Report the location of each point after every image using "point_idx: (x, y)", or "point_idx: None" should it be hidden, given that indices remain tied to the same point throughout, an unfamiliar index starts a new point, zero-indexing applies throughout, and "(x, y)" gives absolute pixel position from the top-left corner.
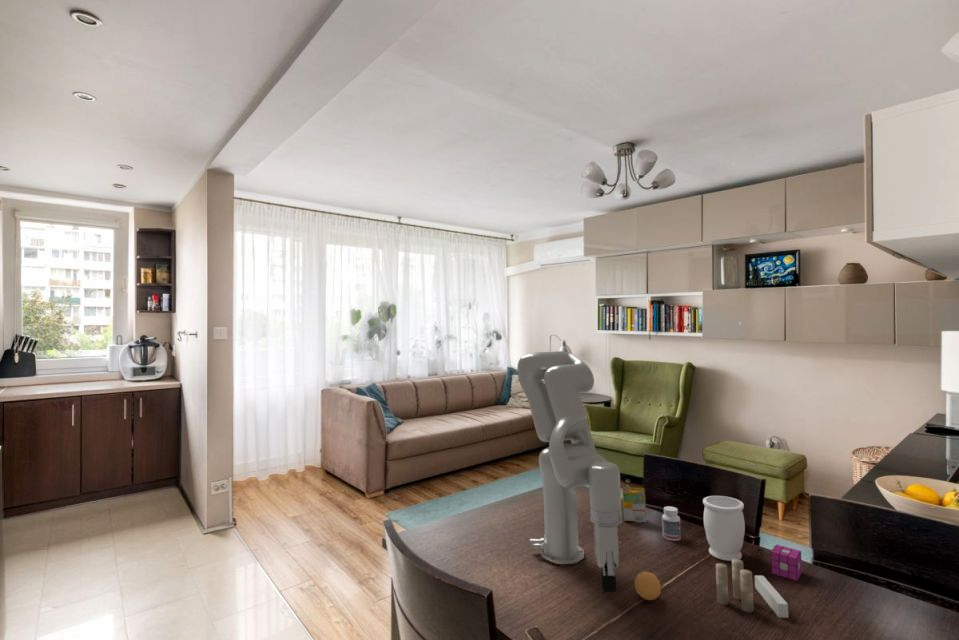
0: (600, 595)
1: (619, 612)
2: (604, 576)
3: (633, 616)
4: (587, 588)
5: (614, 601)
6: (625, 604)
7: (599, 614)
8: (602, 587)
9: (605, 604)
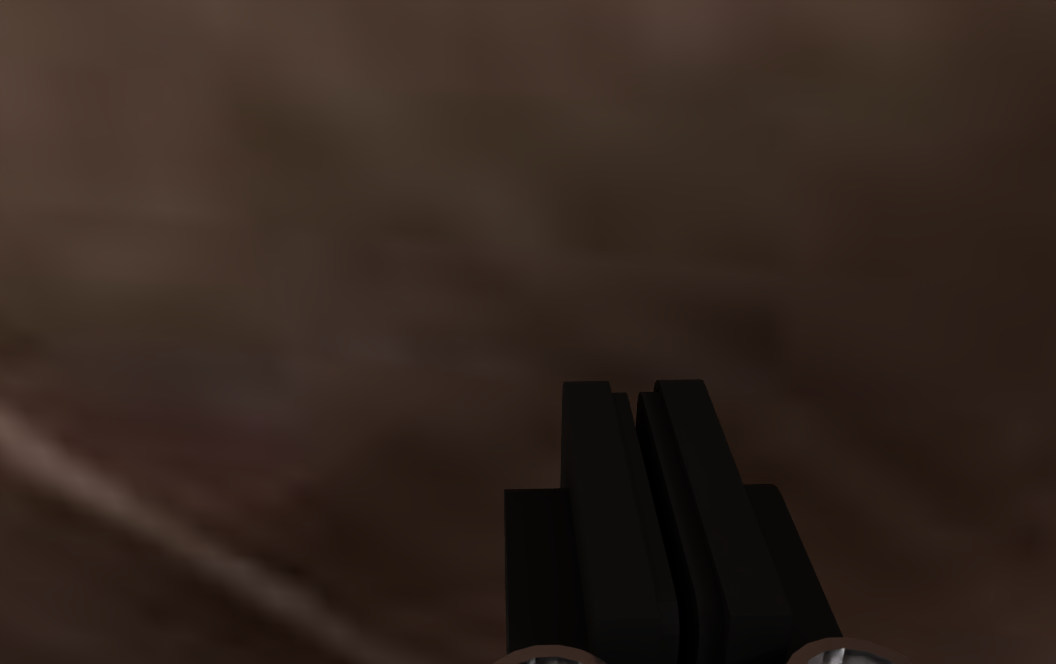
0: (653, 270)
1: (183, 503)
2: (590, 639)
3: (134, 653)
4: (914, 37)
5: (482, 467)
6: (420, 596)
7: (21, 199)
8: (576, 411)
9: (369, 327)
